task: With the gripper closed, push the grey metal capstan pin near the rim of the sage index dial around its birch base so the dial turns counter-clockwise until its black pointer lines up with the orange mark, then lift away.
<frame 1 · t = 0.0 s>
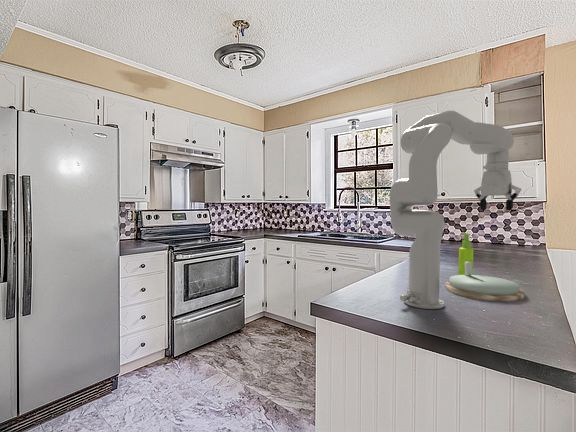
hand: (495, 209, 131), 31 cm above the countertop, tool pointing down, fingers open, 9 cm apart
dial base: (482, 291, 125), on the countertop
soap dispenser: (464, 276, 150), on the countertop
dial: (483, 276, 125), point 6 cm above the countertop, hinge at 60.0°
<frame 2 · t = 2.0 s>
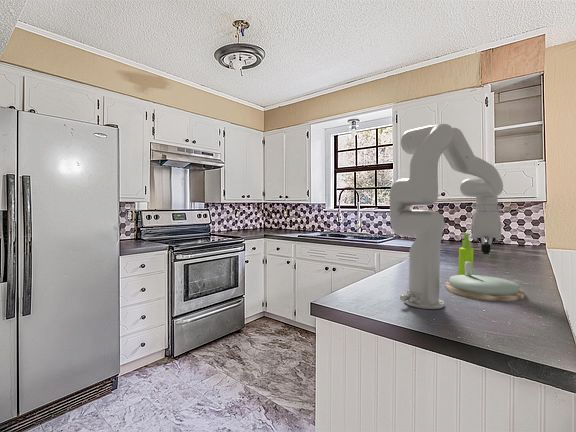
hand: (485, 253, 133), 13 cm above the countertop, tool pointing down, fingers closed
nothing on the countertop moved.
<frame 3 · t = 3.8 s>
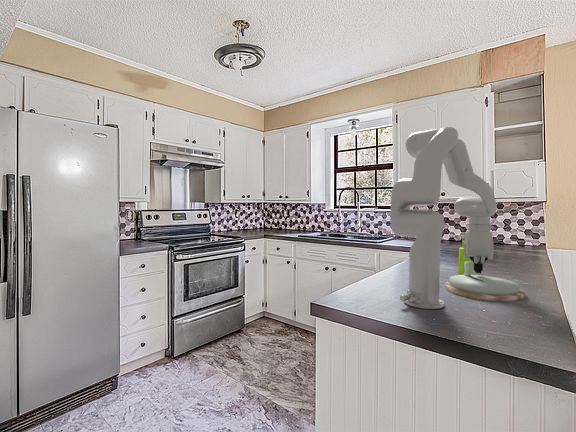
hand: (477, 272, 134), 5 cm above the countertop, tool pointing down, fingers closed
dial: (483, 276, 125), point 6 cm above the countertop, hinge at 60.8°, touching gripper
everything else where it was.
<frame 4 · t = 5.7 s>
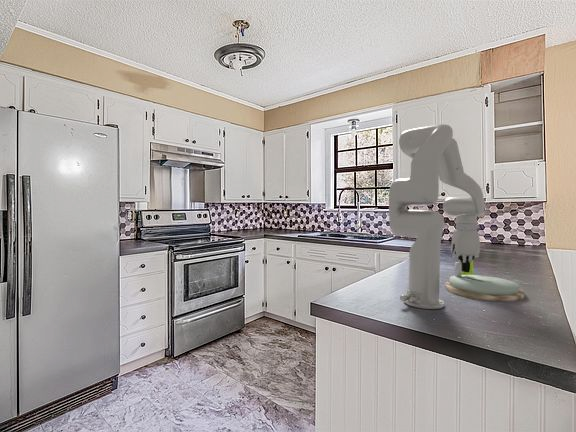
hand: (465, 271, 134), 6 cm above the countertop, tool pointing down, fingers closed
dial: (483, 276, 125), point 6 cm above the countertop, hinge at 89.1°, touching gripper
everything else where it was.
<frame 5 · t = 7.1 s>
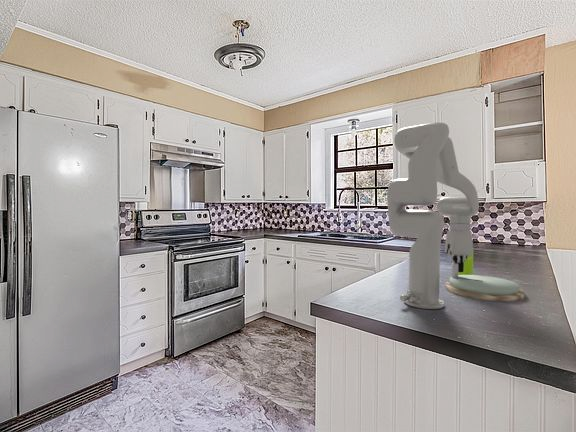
hand: (458, 271, 134), 6 cm above the countertop, tool pointing down, fingers closed
dial: (483, 276, 125), point 6 cm above the countertop, hinge at 107.7°, touching gripper
everything else where it was.
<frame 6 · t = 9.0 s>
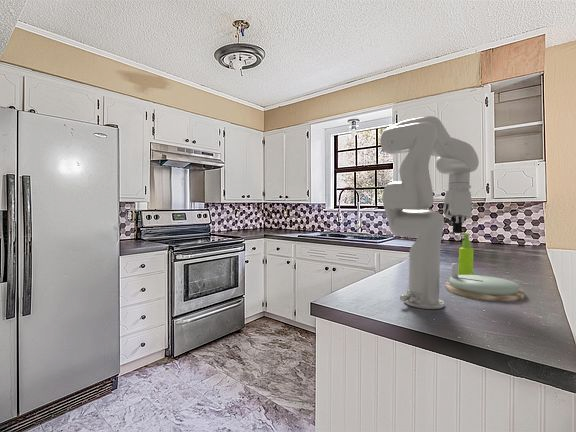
hand: (457, 232, 131), 22 cm above the countertop, tool pointing down, fingers closed
dial: (483, 276, 125), point 6 cm above the countertop, hinge at 107.8°
everything else where it was.
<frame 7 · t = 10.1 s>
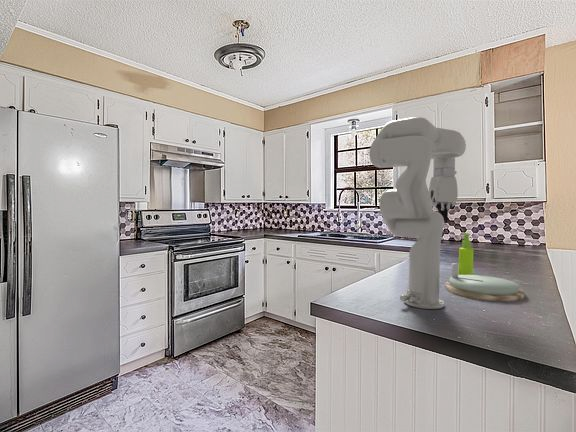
hand: (442, 220, 126), 27 cm above the countertop, tool pointing down, fingers closed
nothing on the countertop moved.
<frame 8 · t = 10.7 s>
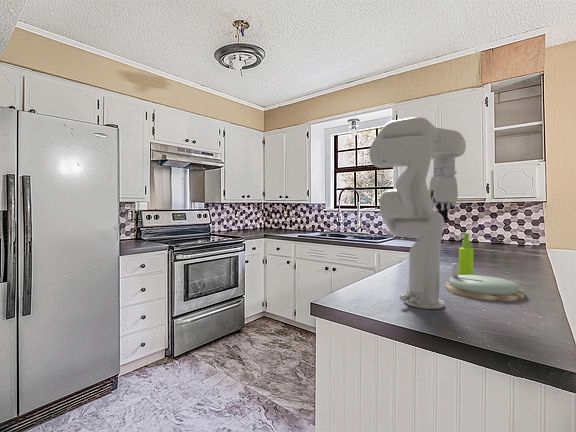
hand: (442, 220, 126), 27 cm above the countertop, tool pointing down, fingers closed
nothing on the countertop moved.
at the end: dial at +108° (first picture: +60°) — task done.
